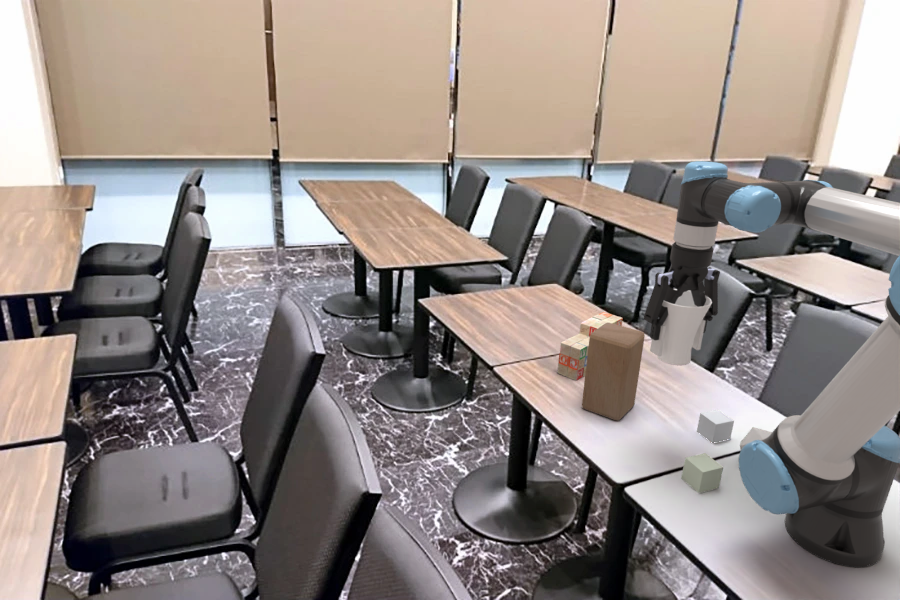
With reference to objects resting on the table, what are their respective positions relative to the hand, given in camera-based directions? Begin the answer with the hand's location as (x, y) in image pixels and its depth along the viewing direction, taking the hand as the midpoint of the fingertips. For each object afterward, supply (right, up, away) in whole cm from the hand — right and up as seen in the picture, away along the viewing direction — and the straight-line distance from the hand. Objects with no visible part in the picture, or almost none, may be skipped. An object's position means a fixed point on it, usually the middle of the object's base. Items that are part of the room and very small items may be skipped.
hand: (675, 350), depth 129 cm
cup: (0, -2, +1) cm, 2 cm away
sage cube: (+4, -26, -3) cm, 27 cm away
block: (-8, -16, +24) cm, 30 cm away
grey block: (+19, -25, +3) cm, 31 cm away
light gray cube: (+13, -20, +13) cm, 28 cm away
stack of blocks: (-8, -8, +45) cm, 47 cm away
